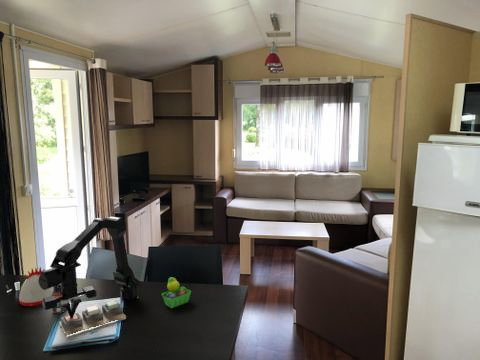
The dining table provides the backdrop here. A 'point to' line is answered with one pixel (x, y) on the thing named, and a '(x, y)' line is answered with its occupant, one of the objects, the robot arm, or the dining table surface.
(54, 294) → the supplement bottle
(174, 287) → the fruit basket
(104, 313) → the button panel
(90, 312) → the button cream
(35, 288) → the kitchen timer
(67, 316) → the button terracotta
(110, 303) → the button sage
